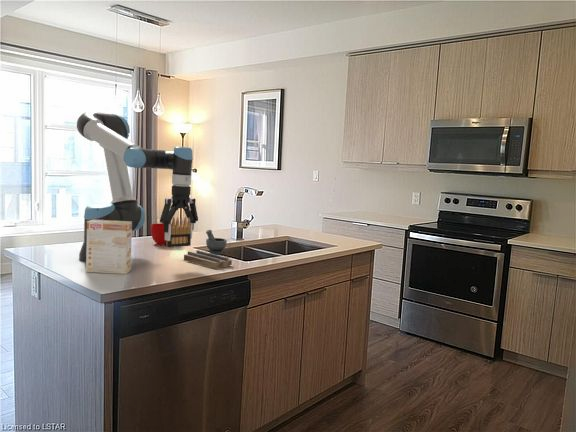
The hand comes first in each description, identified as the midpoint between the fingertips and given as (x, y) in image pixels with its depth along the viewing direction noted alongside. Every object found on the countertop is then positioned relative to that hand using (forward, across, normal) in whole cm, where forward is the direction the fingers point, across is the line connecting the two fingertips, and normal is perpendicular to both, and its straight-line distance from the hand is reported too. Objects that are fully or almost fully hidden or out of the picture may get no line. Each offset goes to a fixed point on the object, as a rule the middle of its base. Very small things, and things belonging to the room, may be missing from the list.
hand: (178, 239), depth 190 cm
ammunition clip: (+3, 0, 0) cm, 3 cm away
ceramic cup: (+13, +27, +44) cm, 54 cm away
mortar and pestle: (+12, +33, +13) cm, 38 cm away
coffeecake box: (+12, -25, +10) cm, 29 cm away
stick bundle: (+12, +16, 0) cm, 20 cm away
